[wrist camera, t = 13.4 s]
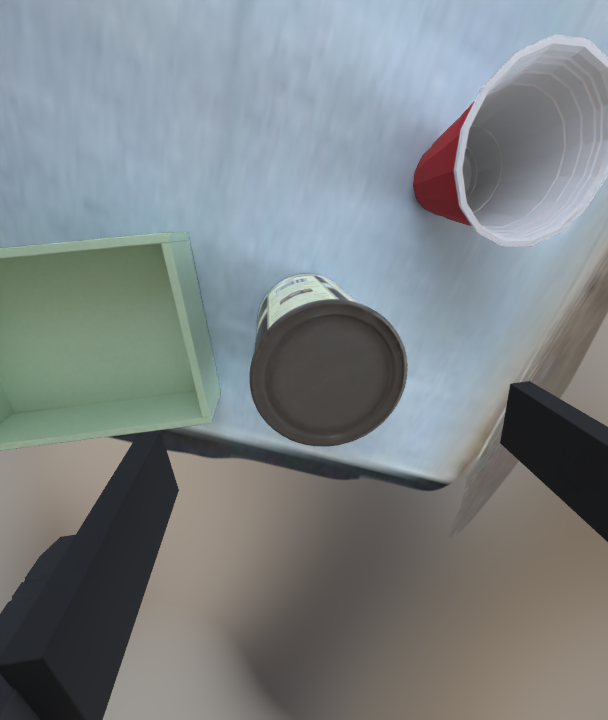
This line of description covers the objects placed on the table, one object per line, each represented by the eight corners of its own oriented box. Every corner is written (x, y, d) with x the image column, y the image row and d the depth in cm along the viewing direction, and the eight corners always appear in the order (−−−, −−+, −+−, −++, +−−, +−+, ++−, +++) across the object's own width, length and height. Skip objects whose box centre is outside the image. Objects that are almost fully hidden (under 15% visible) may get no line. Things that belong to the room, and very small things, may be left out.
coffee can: (309, 386, 37) (331, 471, 24) (236, 328, 33) (215, 389, 20) (375, 319, 35) (439, 372, 21) (304, 250, 31) (329, 262, 18)
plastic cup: (446, 265, 33) (535, 281, 22) (364, 197, 30) (420, 177, 19) (523, 164, 30) (669, 125, 19) (442, 79, 27) (560, -25, 16)
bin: (-66, 256, 28) (-155, 262, 22) (188, 232, 30) (167, 232, 24) (13, 417, 34) (-41, 456, 29) (221, 391, 36) (211, 423, 30)
